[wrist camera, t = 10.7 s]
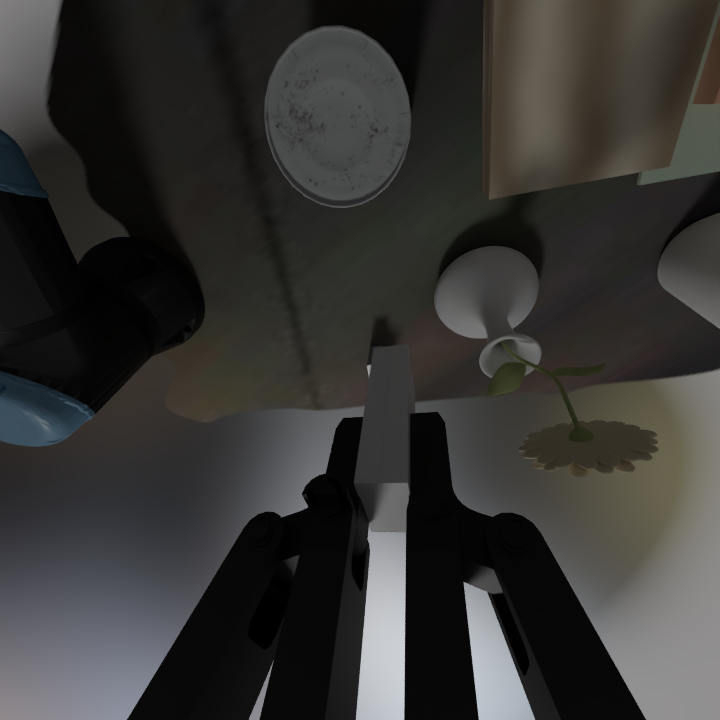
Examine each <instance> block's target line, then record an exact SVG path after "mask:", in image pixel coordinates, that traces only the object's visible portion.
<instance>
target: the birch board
mask: <svg viewBox="0 0 720 720" xmlns="http://www.w3.org/2000/svg"><path fill="white" fill-rule="evenodd" d="M718 3H719V0H484V23H483V115H482V192H483V193H484V194H485V195H486V196H487V198H488V199H489V200H490V199H495V198H501V197H506V196H512V195H517V194H523V193H528V192H534V191H539V190H545V189H550V188H556V187H561V186H567V185H572V184H578V183H583V182H589V181H594V180H600V179H605V178H611V177H616V176H622V175H627V174H633V173H638V172H643V171H649V170H654V169H660V168H665V167H670V163H671V160H672V157H673V153H674V150H675V147H676V143H677V140H678V137H679V133H680V130H681V127H682V123H683V120H684V117H685V113H686V110H687V107H688V103H689V100H690V97H691V93H692V90H693V87H694V83H695V80H696V77H697V73H698V70H699V67H700V63H701V60H702V57H703V53H704V50H705V47H706V43H707V40H708V37H709V33H710V30H711V27H712V23H713V20H714V16H715V13H716V10H717V6H718Z"/></svg>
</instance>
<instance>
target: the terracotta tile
mask: <svg viewBox="0 0 720 720" xmlns="http://www.w3.org/2000/svg"><path fill="white" fill-rule="evenodd" d="M718 103H720V15H719V19H718V22H717V25H716V28H715V32H714V35H713V38H712V41H711V45H710V48H709V51H708V54H707V58H706V61H705V64H704V68H703V71H702V74H701V77H700V81H699V84H698V87H697V90H696V94H695V97H694V100H693V104H718Z"/></svg>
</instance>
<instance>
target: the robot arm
mask: <svg viewBox="0 0 720 720" xmlns="http://www.w3.org/2000/svg"><path fill="white" fill-rule="evenodd" d="M48 197H49V195H48V193H47V192H46V190H44V189H43V188H42V187H41V185H40V183H39V181H38V179H37V178H36V176H35V174H34V172H33V170H32V168H31V167H30V165H29V163H28V161H27V159H26V157H25V155H24V153H23V152H22V149H21V148H20V147H19V145H18V144H17V143H16V142H15V141H14V140H13V139H12V138H11V137H10V136H9V135H8V134H6V133H5V132H4V131H2V130H0V441H4V442H8V443H12V444H17V445H24V446H46V445H51V444H55V443H58V442H60V441H62V440H64V439H66V438H67V437H68V436H70V435H71V434H72V433H73V432H74V431H75V430H77V429H78V428H79V427H80V426H81V425H82V424H83V423H85V422H86V421H87V420H90V419H91V418H93V416H94V415H95V414H96V413H97V412H98V411H99V410H100V409H101V408H102V407H103V405H105V404H106V402H107V401H108V400H109V399H110V398H111V397H112V396H113V395H114V394H115V393H116V392H117V391H118V390H119V389H120V388H121V387H122V386H123V385H124V384H125V383H126V382H127V381H128V380H129V379H130V378H131V377H132V376H133V375H134V373H136V372H137V371H138V370H139V368H141V366H143V364H145V362H147V361H148V360H149V359H150V358H151V357H152V356H154V355H157V354H159V353H162V352H164V351H166V350H169V349H171V348H173V347H176V346H178V345H180V344H182V343H184V342H186V341H187V340H188V339H189V338H191V337H192V335H193V334H194V333H195V332H196V331H197V330H198V329H199V328H200V326H201V324H202V322H203V319H204V312H205V308H204V301H203V297H202V294H201V292H200V289H199V287H198V285H197V284H196V282H195V280H194V279H193V277H192V276H191V274H190V273H189V272H188V271H187V270H186V268H185V267H184V266H183V265H182V264H181V263H180V262H179V261H178V260H177V259H175V258H174V257H173V256H172V255H170V254H169V253H168V252H166V251H165V250H163V249H161V248H160V247H158V246H156V245H154V244H152V243H149V242H147V241H144V240H141V239H137V238H132V237H117V238H112V239H109V240H107V241H105V242H102V243H100V244H98V245H96V246H94V247H93V248H91V249H90V250H89V251H88V252H86V254H85V255H84V256H83V257H82V259H81V260H80V261H79V263H78V264H77V262H76V260H75V258H74V256H73V254H72V252H71V249H70V247H69V245H68V243H67V241H66V239H65V237H64V234H63V232H62V230H61V228H60V226H59V224H58V221H57V219H56V216H55V214H54V212H53V210H52V207H51V205H50V203H49V201H48ZM446 437H447V436H446V427H445V422H444V421H443V419H442V417H441V416H440V415H439V413H438V412H430V413H415V389H414V382H413V375H412V368H411V361H410V354H409V347H408V344H406V345H396V346H386V347H376V348H373V355H372V362H371V368H370V375H369V382H368V389H367V396H366V403H365V410H364V417H353V418H343V419H342V421H341V422H340V424H339V425H338V427H337V428H336V431H335V435H334V439H333V444H332V448H331V453H330V457H329V462H328V466H327V470H326V474H323V475H319V476H317V477H316V478H314V479H312V480H311V481H310V482H309V483H308V484H307V485H306V487H305V489H304V491H303V493H302V495H303V497H304V499H305V501H306V503H307V505H308V508H307V509H304V510H302V511H300V512H297V513H294V514H291V515H288V516H285V517H282V518H281V516H280V515H278V514H276V513H274V512H264V513H261V514H258V515H257V516H255V517H254V518H252V519H251V520H250V521H249V522H248V524H247V525H246V526H245V527H244V529H243V531H242V532H241V534H240V535H239V537H238V539H237V540H236V542H235V543H234V545H233V547H232V548H231V550H230V552H229V553H228V555H227V557H226V558H225V560H224V561H223V563H222V565H221V566H220V568H219V570H218V571H217V573H216V575H215V576H214V578H213V580H212V581H211V583H210V585H209V586H208V588H207V590H206V591H205V593H204V594H203V596H202V598H201V599H200V601H199V603H198V604H197V606H196V608H195V609H194V611H193V613H192V614H191V616H190V617H189V619H188V621H187V622H186V624H185V626H184V627H183V629H182V631H181V632H180V634H179V636H178V637H177V639H176V640H175V642H174V644H173V645H172V647H171V649H170V650H169V652H168V653H167V655H166V657H165V659H164V660H163V662H162V663H161V665H160V667H159V668H158V670H157V672H156V673H155V675H154V677H153V678H152V680H151V681H150V683H149V685H148V686H147V688H146V690H145V691H144V693H143V695H142V696H141V698H140V699H139V701H138V703H137V704H136V706H135V708H134V709H133V711H132V713H131V714H130V716H129V718H128V719H127V720H249V717H250V715H251V713H252V710H253V708H254V705H255V703H256V701H257V698H258V696H259V694H260V691H261V689H262V686H263V684H264V681H265V679H266V677H267V674H268V672H269V670H270V667H271V665H272V663H273V666H272V670H271V674H270V678H269V683H268V687H267V691H266V695H265V699H264V703H263V707H262V712H261V716H260V720H356V709H357V697H358V685H359V674H360V662H361V650H362V638H363V627H364V615H365V603H366V590H367V579H368V567H369V556H370V549H369V543H368V540H367V537H368V527H370V529H371V531H372V532H406V611H405V612H406V613H405V619H406V620H405V623H406V624H405V719H404V720H479V719H478V710H477V700H476V691H475V683H474V673H473V664H472V656H471V647H470V637H469V628H468V619H467V610H466V601H465V593H464V583H463V582H466V583H468V584H470V585H473V586H475V587H477V588H480V589H482V590H484V591H487V592H488V595H489V598H490V600H491V603H492V605H493V608H494V611H495V613H496V616H497V619H498V622H499V624H500V627H501V629H502V632H503V635H504V638H505V640H506V643H507V645H508V648H509V651H510V653H511V656H512V659H513V661H514V664H515V667H516V669H517V672H518V675H519V677H520V680H521V683H522V685H523V688H524V690H525V693H526V696H527V699H528V701H529V704H530V706H531V709H532V712H533V715H534V717H535V720H646V719H645V717H644V716H643V714H642V712H641V710H640V709H639V707H638V705H637V703H636V701H635V699H634V698H633V696H632V694H631V692H630V691H629V689H628V687H627V685H626V683H625V682H624V680H623V679H622V676H621V675H620V673H619V671H618V669H617V668H616V666H615V664H614V662H613V660H612V659H611V657H610V655H609V653H608V652H607V650H606V648H605V647H604V644H603V643H602V641H601V639H600V637H599V636H598V634H597V632H596V631H595V629H594V627H593V625H592V623H591V622H590V620H589V618H588V616H587V614H586V613H585V611H584V609H583V607H582V606H581V604H580V602H579V600H578V598H577V597H576V595H575V593H574V591H573V589H572V588H571V586H570V584H569V582H568V581H567V579H566V577H565V575H564V573H563V572H562V570H561V568H560V566H559V565H558V563H557V561H556V559H555V558H554V556H553V554H552V552H551V550H550V549H549V547H548V545H547V543H546V542H545V540H544V538H543V536H542V534H541V533H540V531H539V530H538V529H537V528H536V526H535V525H534V524H533V523H532V522H531V521H529V520H528V519H526V518H525V517H523V516H521V515H518V514H514V513H500V514H498V515H496V516H494V517H491V516H488V515H485V514H481V513H478V512H476V511H473V510H471V509H469V508H467V507H466V506H465V505H463V504H462V503H461V502H460V501H459V500H458V499H457V497H456V495H455V493H454V491H453V487H452V480H451V471H450V463H449V454H448V445H447V438H446ZM273 660H274V662H273Z"/></svg>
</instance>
